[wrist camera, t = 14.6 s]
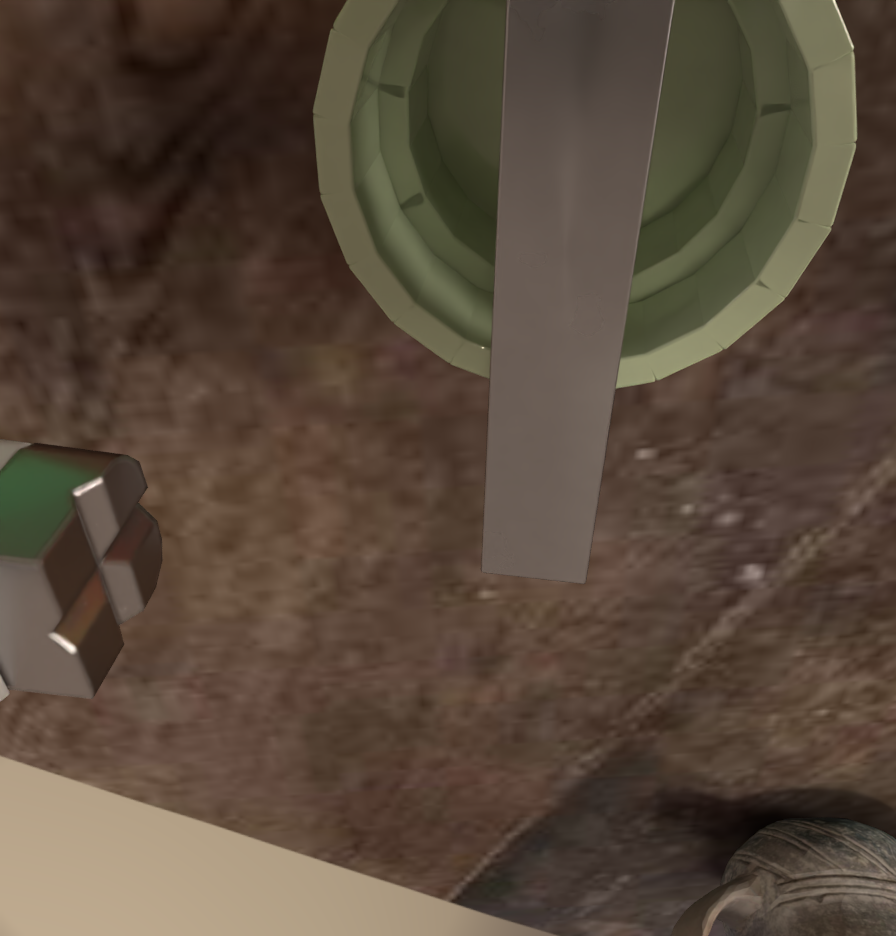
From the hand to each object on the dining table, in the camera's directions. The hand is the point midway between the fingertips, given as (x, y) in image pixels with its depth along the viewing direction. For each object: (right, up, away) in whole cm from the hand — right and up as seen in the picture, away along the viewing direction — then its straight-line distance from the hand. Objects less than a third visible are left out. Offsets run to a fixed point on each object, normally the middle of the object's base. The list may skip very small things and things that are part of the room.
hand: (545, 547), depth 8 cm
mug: (+15, -17, +33) cm, 40 cm away
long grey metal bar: (+2, +7, +9) cm, 11 cm away
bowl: (+2, +10, +14) cm, 17 cm away
